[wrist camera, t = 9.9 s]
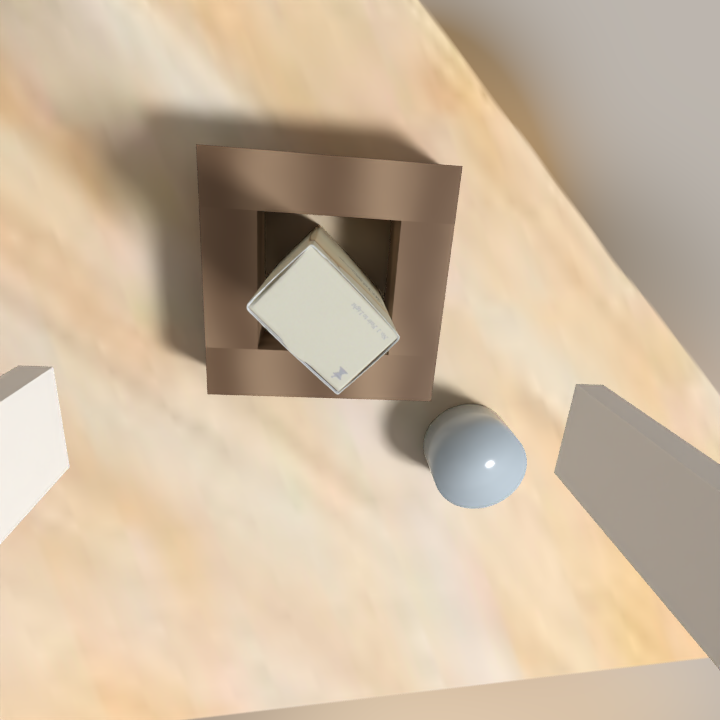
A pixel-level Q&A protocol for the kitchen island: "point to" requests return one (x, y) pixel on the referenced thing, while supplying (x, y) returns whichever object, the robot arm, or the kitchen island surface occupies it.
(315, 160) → the socket block
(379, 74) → the kitchen island surface
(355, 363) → the skincare box
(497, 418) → the light blue rounded block
